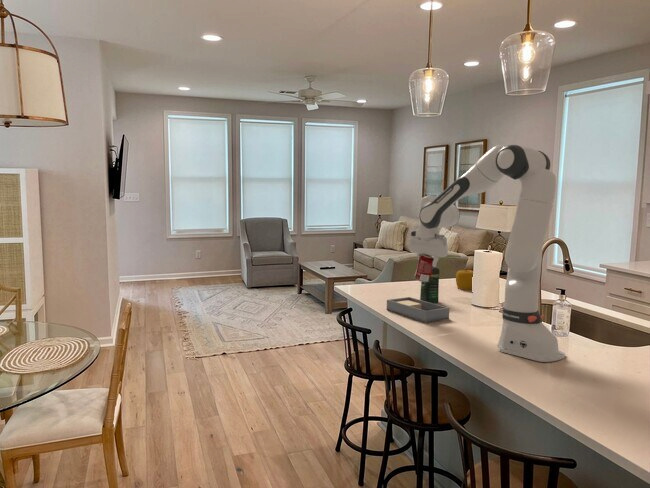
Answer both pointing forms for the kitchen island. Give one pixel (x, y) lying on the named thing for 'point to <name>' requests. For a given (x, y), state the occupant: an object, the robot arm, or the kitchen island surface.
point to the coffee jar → (431, 288)
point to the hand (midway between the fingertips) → (427, 265)
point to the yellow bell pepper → (464, 279)
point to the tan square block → (411, 304)
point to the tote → (419, 310)
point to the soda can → (424, 268)
